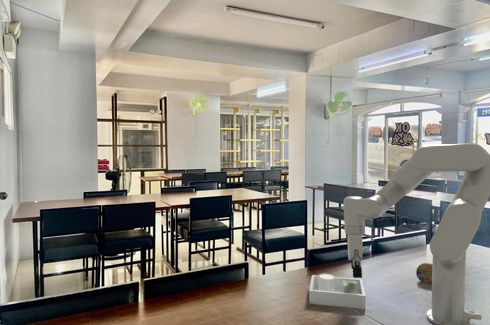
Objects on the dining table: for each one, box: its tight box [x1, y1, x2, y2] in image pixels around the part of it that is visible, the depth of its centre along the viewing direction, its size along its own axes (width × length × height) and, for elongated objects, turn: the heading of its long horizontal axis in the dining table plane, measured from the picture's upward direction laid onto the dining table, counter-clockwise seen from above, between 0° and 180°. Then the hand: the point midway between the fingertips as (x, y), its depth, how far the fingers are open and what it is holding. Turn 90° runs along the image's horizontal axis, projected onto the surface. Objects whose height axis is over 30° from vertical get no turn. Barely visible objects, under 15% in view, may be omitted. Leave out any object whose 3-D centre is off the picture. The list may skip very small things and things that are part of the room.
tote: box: [308, 274, 367, 310], centre depth 135 cm, size 20×16×5 cm
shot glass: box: [317, 273, 337, 292], centre depth 136 cm, size 7×7×7 cm
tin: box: [415, 262, 432, 285], centre depth 147 cm, size 15×3×8 cm, turn 62°
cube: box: [343, 281, 357, 294], centre depth 133 cm, size 5×5×5 cm
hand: (356, 273), depth 133 cm, fingers open, 9 cm apart
